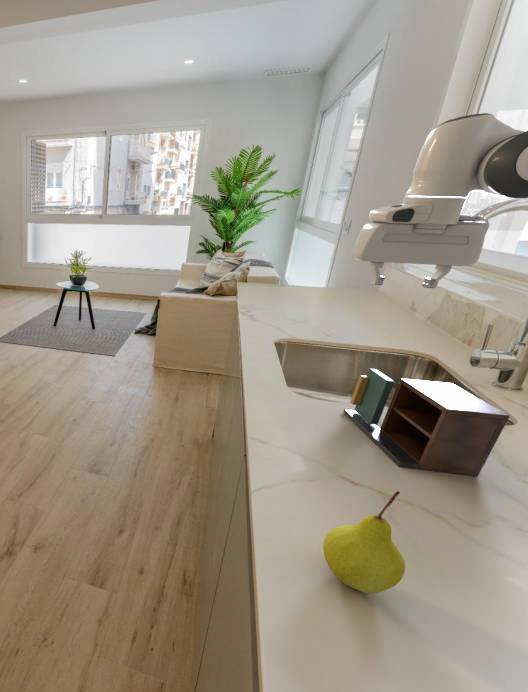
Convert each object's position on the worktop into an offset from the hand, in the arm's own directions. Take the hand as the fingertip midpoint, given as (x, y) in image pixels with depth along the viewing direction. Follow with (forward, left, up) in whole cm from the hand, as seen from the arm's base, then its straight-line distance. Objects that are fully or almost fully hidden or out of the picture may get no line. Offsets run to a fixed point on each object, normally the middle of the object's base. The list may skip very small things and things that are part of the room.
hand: (401, 286), depth 86 cm
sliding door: (+7, +15, -23) cm, 29 cm away
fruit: (+28, +58, -24) cm, 68 cm away
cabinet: (+3, +21, -24) cm, 32 cm away
